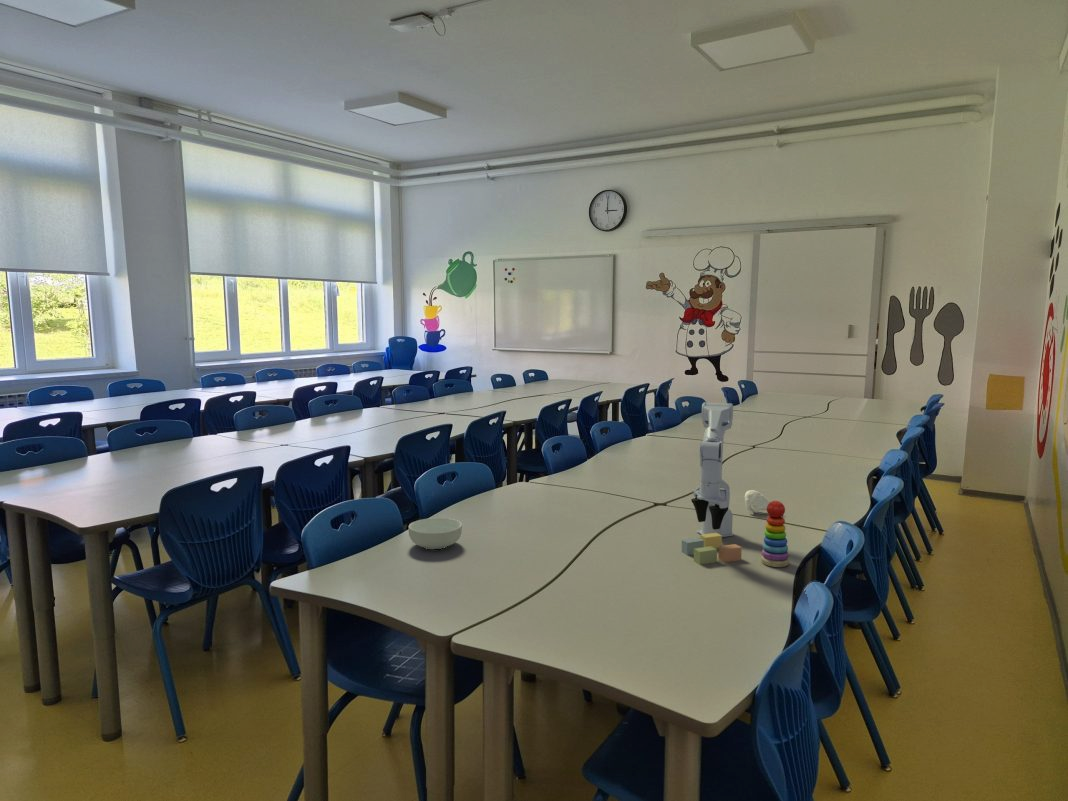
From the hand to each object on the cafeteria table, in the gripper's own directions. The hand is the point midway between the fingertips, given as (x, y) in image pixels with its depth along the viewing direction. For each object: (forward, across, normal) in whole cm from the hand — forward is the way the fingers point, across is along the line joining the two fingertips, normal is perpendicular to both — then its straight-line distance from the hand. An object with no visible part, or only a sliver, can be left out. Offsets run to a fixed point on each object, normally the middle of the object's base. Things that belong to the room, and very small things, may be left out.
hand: (708, 525), depth 201 cm
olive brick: (+10, +4, -4) cm, 11 cm away
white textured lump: (+10, -30, +44) cm, 54 cm away
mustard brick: (+10, -6, +5) cm, 13 cm away
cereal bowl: (+10, -37, -76) cm, 85 cm away
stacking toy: (+10, +12, +15) cm, 22 cm away
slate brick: (+10, -4, -3) cm, 11 cm away
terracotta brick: (+10, +5, +4) cm, 12 cm away
